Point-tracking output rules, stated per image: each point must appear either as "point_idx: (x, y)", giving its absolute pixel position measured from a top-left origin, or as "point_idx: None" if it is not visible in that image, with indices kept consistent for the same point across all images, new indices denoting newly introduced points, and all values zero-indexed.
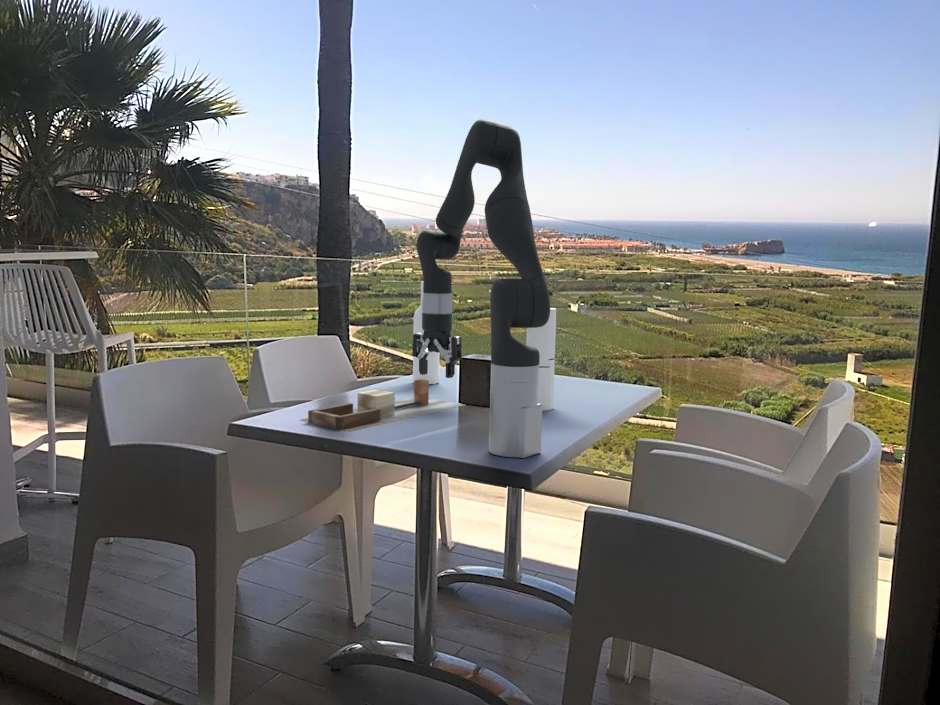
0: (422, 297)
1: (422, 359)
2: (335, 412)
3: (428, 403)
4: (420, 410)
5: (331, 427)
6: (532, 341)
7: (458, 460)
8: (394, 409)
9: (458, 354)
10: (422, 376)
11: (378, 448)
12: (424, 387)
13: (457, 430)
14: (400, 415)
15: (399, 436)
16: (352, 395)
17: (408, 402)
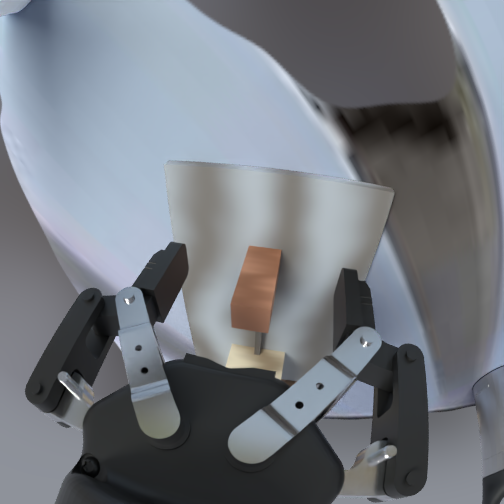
0: None
1: (156, 320)
2: None
3: (272, 238)
4: (311, 314)
5: None
6: None
7: (445, 408)
8: (283, 360)
9: (406, 381)
10: (12, 2)
11: (361, 418)
12: (272, 306)
13: (430, 358)
14: (303, 355)
15: (361, 397)
16: (52, 226)
17: (216, 257)
